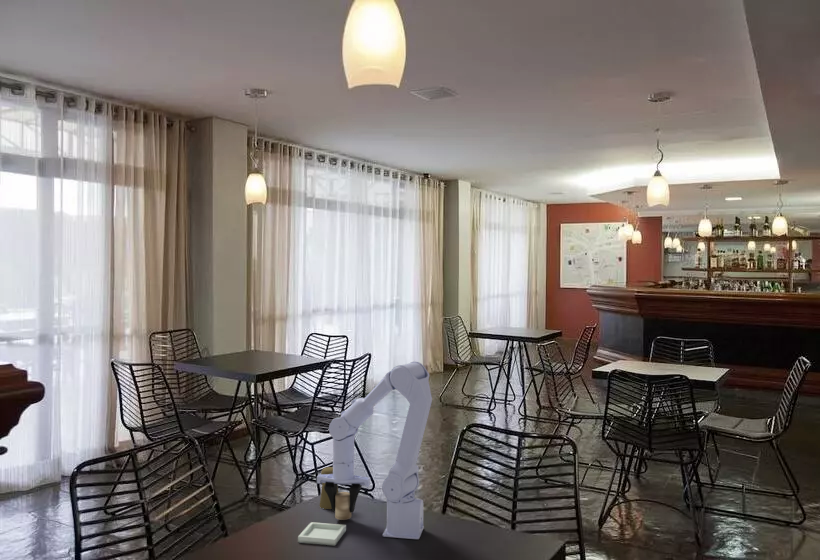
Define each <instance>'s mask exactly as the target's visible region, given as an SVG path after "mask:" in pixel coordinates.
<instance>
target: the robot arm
mask: <svg viewBox="0 0 820 560" xmlns="http://www.w3.org/2000/svg"><path fill="white" fill-rule="evenodd" d="M429 379H430V373H429V371H428V370H427V368H426V367H425V365H424V364H423V363H421V362H419V361H411V362H410V363H405V364H399V365H395V366H394V367H393V368H392V369H391V370H389V371H388V372H387V373H385V375H384V376H383V377H382V379H381V380H380V381H379V382H378V383H377V384H376V385H375V386H374V387H373V389H371V391H369V393H368V394H367V395H366V396H365V397H357V398H355V399H352V400H351V402H350V403H351V405H349V407H348V408H347V409H346V410H342V411H341V413H340V417H336V418H333V419H332V420H331V422H330V423H329V426H328V432H329V434H330V436H331V437H332V467H333V474H321V473H320V474H318V475H317V476H316V484H322V483H325V486H324V489H325V491H326V493H327V495H328V497H329V500H330V503H331V507H332V510H331V512H335V494H336V493H337V487H338V488H339V485H348V486H349V485H351V486H350V487H349V488H348V491H349V493H350V513H351V514H352V513H354V511H355V508H356V507H355V506H356V504H357V503H356V502H357V499H358V497H359V493H360V491H361V489H362V487H363V486H364V487H367V488H368V487H370V485H371V477H370V476H369V477H367V476H361V475H356V474H355V440H356V439H355V438H356V437H355V436H356V434H357V433H358V431H359V428H360V427H361V426H362V425H363V424H364V423H365V422H366V421H367V420H368V419H369V418H370V417H372V415H373V414H374V407H375V406H376V405H377V404H378V403H379V402H381V400H383V399H384V398H385V397H386V396H388V395H389V394H390V393H391V392H392V391H394V390H397V392H399V393H400V394H401V395H402V396H403V397H404V398H405V399H406V400H407V402H408V404H409V405H408V410H407V414H406V419H405V423H404V427H403V429H402V430H403V431H402V434H401V438H400V442H399V447H398V450H397V451H398V452H397V453H396V454H397V455H396V459H395V462H393V465H392V466H391V468H389V470H388V475H387V477H386V478H385V479H384V480H383V482H382V484H381V485H382V486H381V487H382V488H381V490H382V493H383V496H384V497H385V498H386V527H385V529H384V531H383V532H382V537H383V538H398V539H409V540H419V539H420V537H421V536H422V533H423V530H424V528H425V526H424V501H423V499H422V498H416V497H415V496H416V495H415V493H416V492H415V491H416V490H418V489H417V488H418V487H419V484H420V478H419V470H420V468H419V466H418V465H417V462H418V458H419V454H420V450H421V446H422V442H423V437H424V434H425V431H426V426H427V423H428V418H429V415H430V410H431V406H432V403H433V402H432V401H433V398H432V391H431V386H430V382H429Z"/></svg>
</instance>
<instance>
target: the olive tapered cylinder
mask: <svg viewBox="0 0 820 560" xmlns="http://www.w3.org/2000/svg"><path fill="white" fill-rule="evenodd" d="M320 474H333V466H328V467H323V468H322V470H321V471H320ZM324 486H325V483H321V491H320V499H319V505H318V506H320V507H321V508H320V507H319V508H320V509H322V508H324V509H323V510H326V509H332V507H331V503H330V500H329V497H328V495H327V493H326V491H325V489H324ZM337 493H339V486H338V487H337Z"/></svg>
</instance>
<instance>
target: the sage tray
mask: <svg viewBox="0 0 820 560" xmlns="http://www.w3.org/2000/svg"><path fill="white" fill-rule="evenodd" d="M346 531H347V524H341V523H340V524H339V523H338V524H337V523H329V522H328V523H325V522H315V521H313V522H312V521H311V522H309V523H308V525H307V526H306V527H304V529H303V530H302V532H300V534H298V536H297V544H298V543H300V544H312V545H323V546H326V545H327V546H334V547H335V546H336V545H337V544H338V542H339V541H340V539H341V538H342V537H343V535H345V533H346Z"/></svg>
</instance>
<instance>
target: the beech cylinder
mask: <svg viewBox="0 0 820 560" xmlns="http://www.w3.org/2000/svg"><path fill="white" fill-rule="evenodd" d="M338 492H339V491H338ZM334 517H335V520H336V519H337V520H341V521H342V520H343V521H345V520H349V519H351V518H352V513H350V493H349V492H348V491H341V492H339V493H336V494H335V511H334Z"/></svg>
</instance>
